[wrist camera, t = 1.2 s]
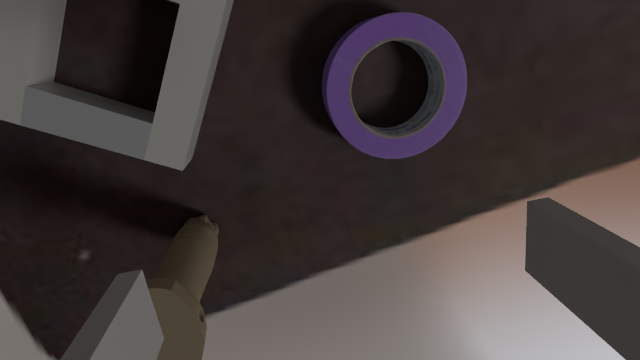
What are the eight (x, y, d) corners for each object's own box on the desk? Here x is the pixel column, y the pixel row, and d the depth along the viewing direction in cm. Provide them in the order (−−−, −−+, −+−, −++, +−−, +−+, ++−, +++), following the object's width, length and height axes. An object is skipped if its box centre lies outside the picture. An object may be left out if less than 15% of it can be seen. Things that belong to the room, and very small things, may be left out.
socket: (9, 105, 33) (-25, 112, 30) (35, -93, 29) (0, -114, 26) (192, 158, 36) (182, 170, 32) (237, -16, 32) (233, -25, 29)
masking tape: (414, 166, 39) (428, 178, 35) (301, 122, 37) (304, 130, 33) (471, 48, 36) (493, 48, 33) (353, -9, 34) (362, -16, 30)
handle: (188, 264, 39) (139, 385, 25) (165, 204, 37) (98, 300, 23) (236, 252, 40) (215, 366, 25) (216, 192, 37) (181, 279, 23)
